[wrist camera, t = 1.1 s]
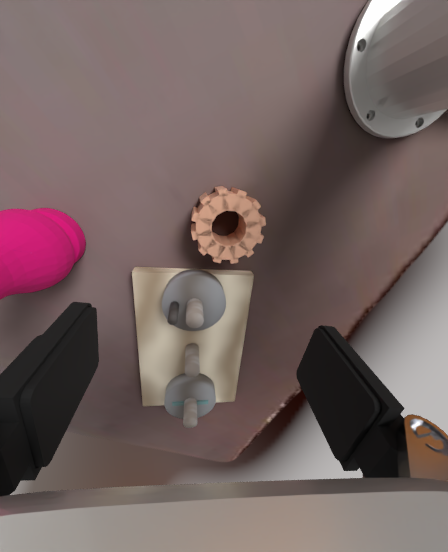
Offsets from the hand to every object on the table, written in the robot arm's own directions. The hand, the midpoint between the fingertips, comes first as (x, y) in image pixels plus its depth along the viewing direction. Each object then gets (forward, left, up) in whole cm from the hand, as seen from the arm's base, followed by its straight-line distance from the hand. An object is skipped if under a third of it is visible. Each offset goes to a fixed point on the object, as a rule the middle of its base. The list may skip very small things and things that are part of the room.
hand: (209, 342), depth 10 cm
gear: (-3, -2, -18) cm, 18 cm away
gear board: (0, +15, -18) cm, 24 cm away
